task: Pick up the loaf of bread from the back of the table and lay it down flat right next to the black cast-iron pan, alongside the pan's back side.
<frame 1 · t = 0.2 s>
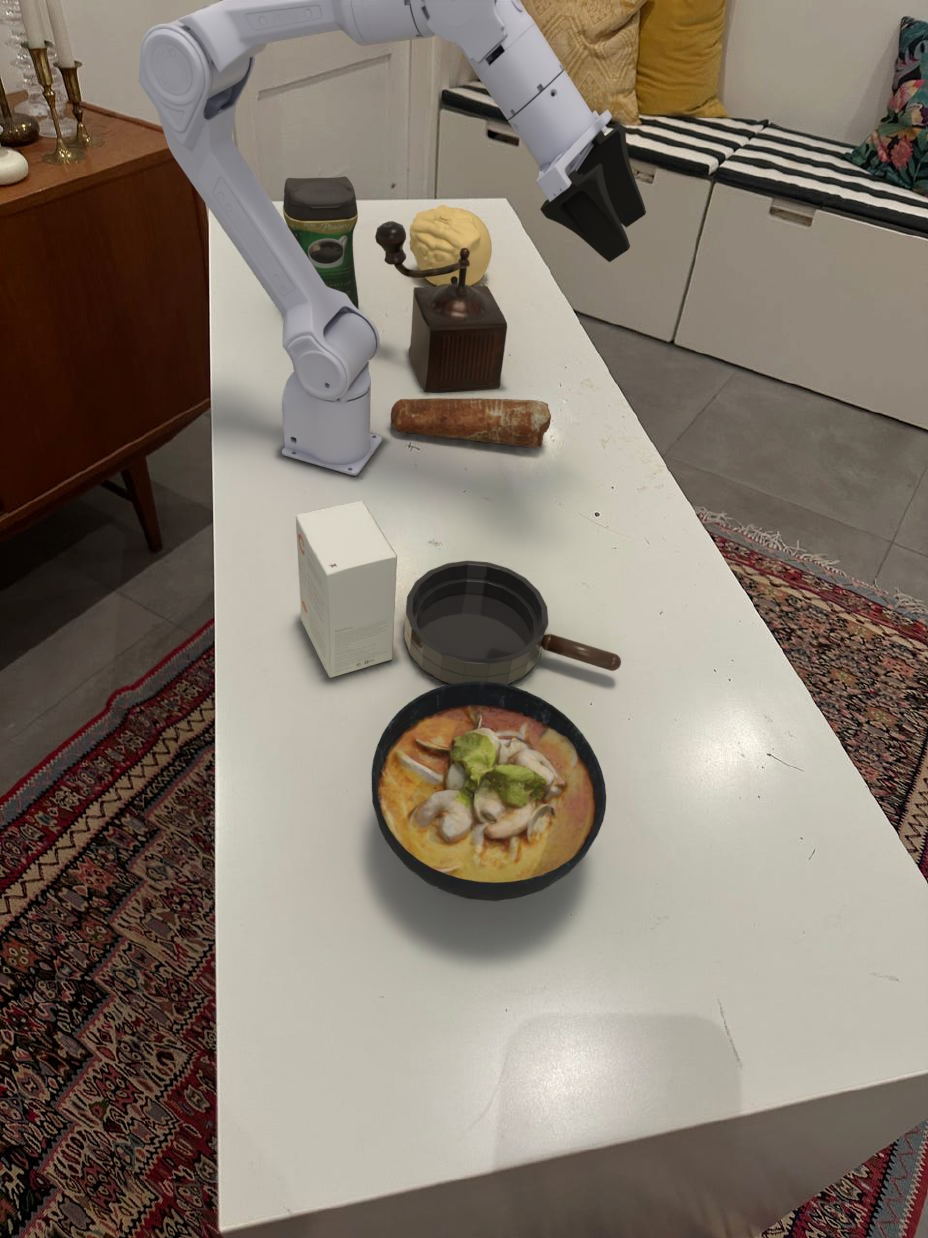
hand: (628, 236, 76), 31 cm above the table, tool tilted 45°, fingers open, 7 cm apart
small box: (346, 641, 82), on the table
sculpture: (449, 280, 135), on the table
bread: (467, 439, 106), on the table
bowl: (477, 837, 69), on the table
pan: (473, 638, 83), on the table
coffee jar: (323, 317, 123), on the table
manual coffee grinder: (434, 371, 116), on the table
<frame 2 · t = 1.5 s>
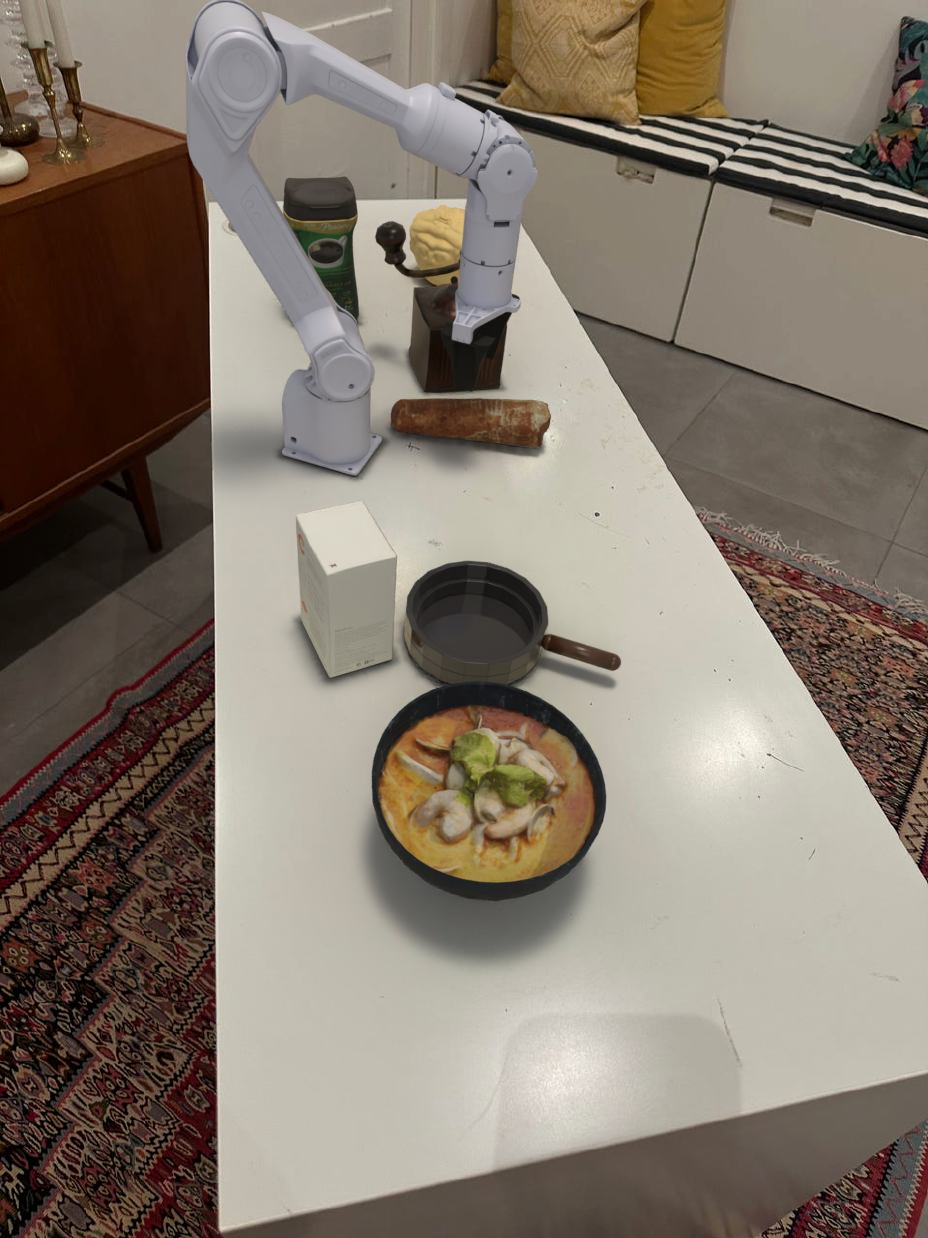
hand: (475, 371, 99), 9 cm above the table, tool pointing down, fingers open, 7 cm apart
nothing on the table moved.
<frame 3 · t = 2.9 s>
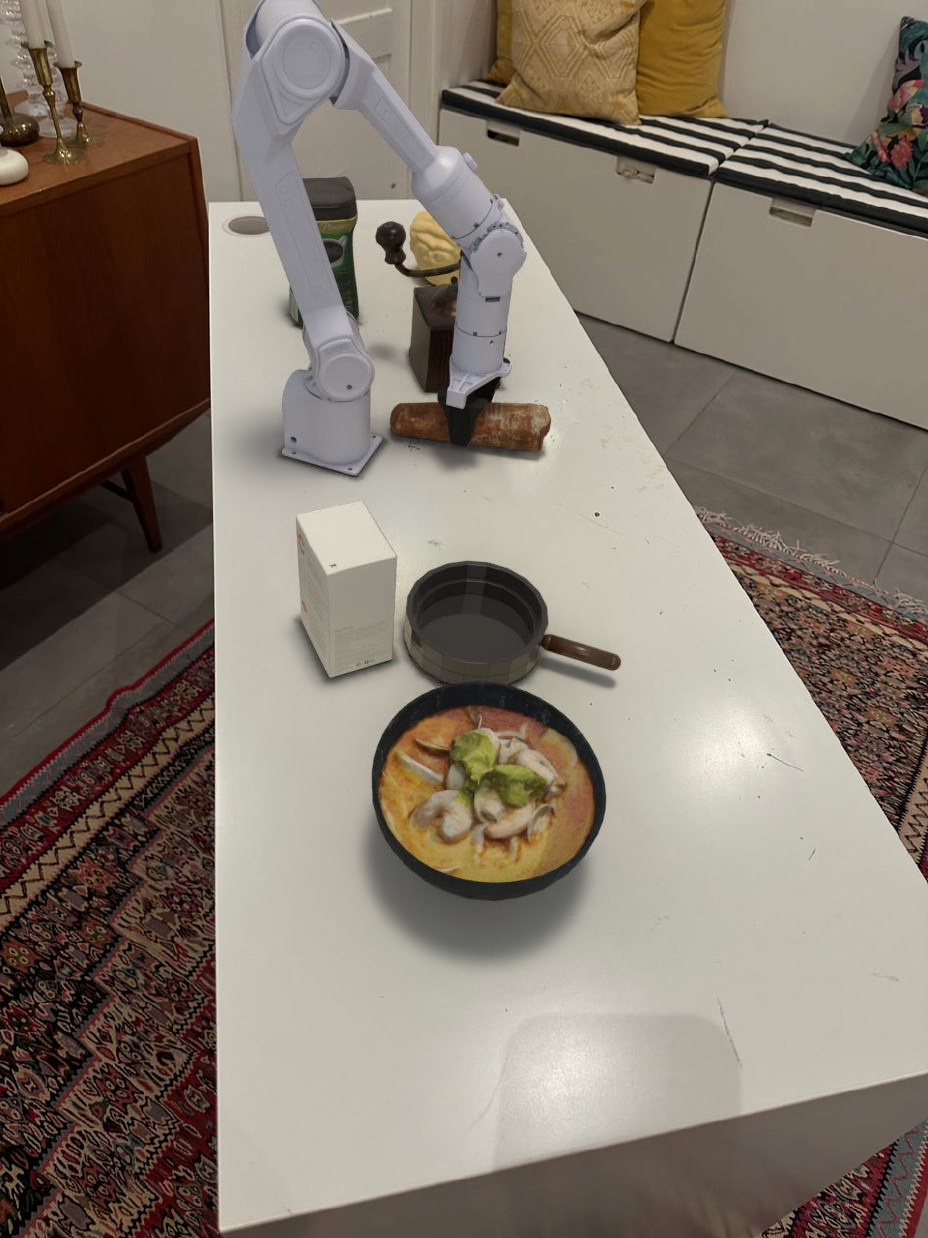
hand: (468, 428, 105), 1 cm above the table, tool pointing down, fingers closed on bread, 6 cm apart
bread: (467, 443, 106), on the table, touching gripper
everything else where it was.
when the fingers open (1 cm above the table, at t = 7.9 s): bread stays where it is, on the table.
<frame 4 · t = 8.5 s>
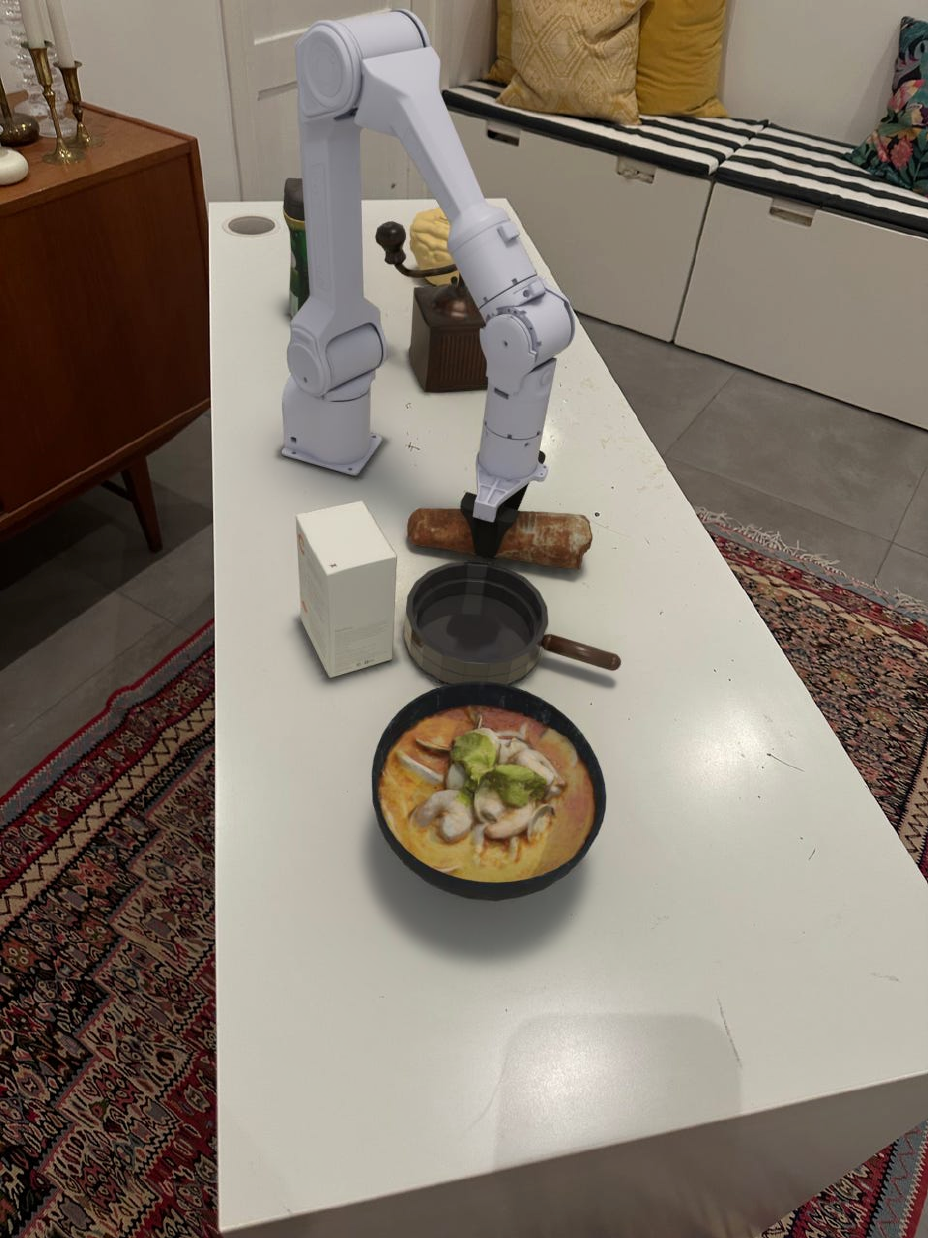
hand: (496, 532, 91), 2 cm above the table, tool pointing down, fingers open, 7 cm apart
bread: (494, 555, 92), on the table
everything else where it was.
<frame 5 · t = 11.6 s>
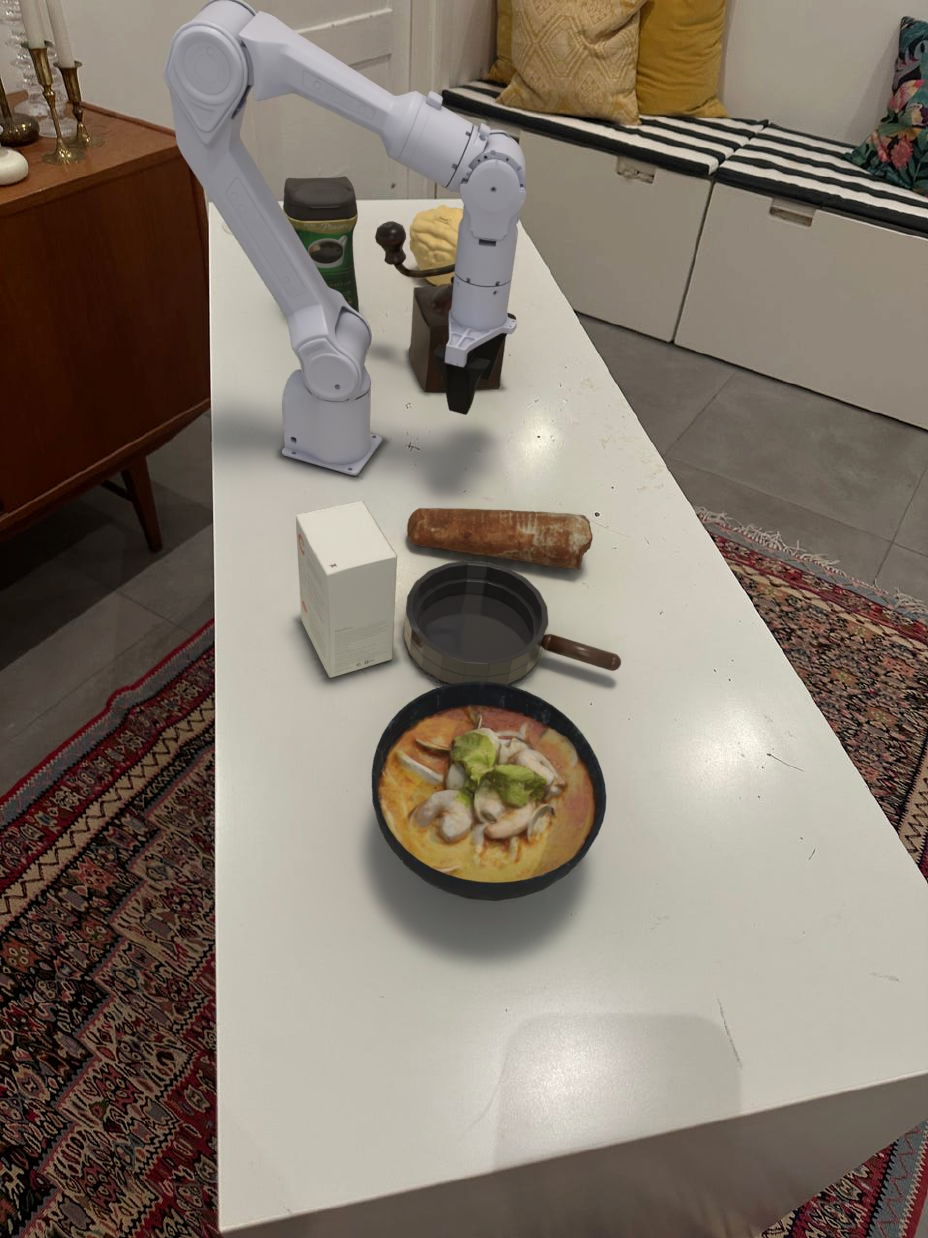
hand: (469, 393, 96), 9 cm above the table, tool pointing down, fingers open, 7 cm apart
nothing on the table moved.
at the end: bread inside the target area on the table beside the pan (0.7 cm from its centre), on the table; bread tilted 1°; the gripper is holding nothing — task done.
